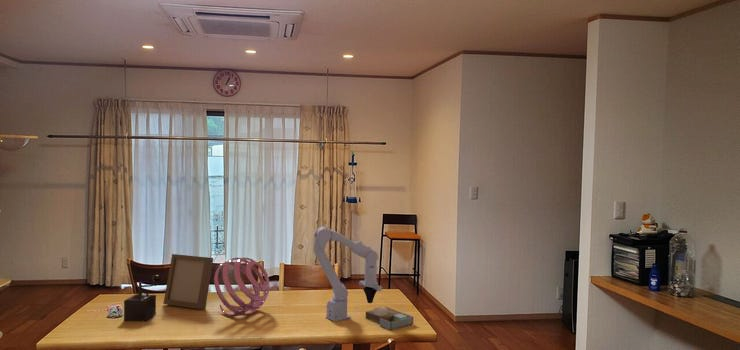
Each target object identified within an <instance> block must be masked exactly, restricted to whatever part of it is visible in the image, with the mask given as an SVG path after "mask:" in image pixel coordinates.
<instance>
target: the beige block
mask: <svg viewBox="0 0 740 350" xmlns="http://www.w3.org/2000/svg"><path fill="white" fill-rule="evenodd" d="M373 310H374V314H375V315H377V316H384V315H388V309H386V308H384V307H383V306H379V307H374V308H373Z"/></svg>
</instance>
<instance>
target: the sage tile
mask: <svg viewBox="0 0 740 350" xmlns="http://www.w3.org/2000/svg"><path fill="white" fill-rule="evenodd" d="M404 318H408V316H406V315H403V314H397V315H394V320H393V321H397V320H401V319H404Z"/></svg>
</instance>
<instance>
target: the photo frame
mask: <svg viewBox="0 0 740 350" xmlns="http://www.w3.org/2000/svg"><path fill="white" fill-rule="evenodd" d="M213 263H214V257H207V256H206V257H205V256H198V255H197V256H195V255H188V254H187V255H186V254H185V255H184V254H176V253H171V258H170V264H169V265H170V266H169V270H168V276H167V281H166V288H165V293H164V298H163V299H164V300H163V305H170V306H177V307H183V308H184V307H186V308H189V309H190V308H192V309H197V310H203V309H206V308H207V307H206V306H207V301H208V295H209V289H210V288H209V287H210V282H211V278H212V277H211V276H212V270H213Z"/></svg>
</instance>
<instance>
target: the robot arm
mask: <svg viewBox="0 0 740 350" xmlns="http://www.w3.org/2000/svg"><path fill="white" fill-rule="evenodd" d="M313 235H314V236H313V237H314V238H313V247H312V250H313V252H314V254H315V257H316V258H317V260H318V262H319V264H320V266H321V268H322V269H323V271H324V273H325V275H326V278H327V279H328V281H329V283H330V285H331V290H332V293H333V296H332V298H331V300H328V301H327V303H326V314H325V318H326V317H327V318H326V319H328V318H329V320H330V319H331V321H332V320H333V321H332V322H335V321H336V322H339V320H340V321H344V320H348V319H351V316H350V315H348V296H349V291H348V289H347V288H346V286H345V284H344V283H342V282H341V280H340V278H339V276H338V274H337V272H336V270H335V269H334V267H333V264H332V263H331V261H330V258H329V257H328V255H327V253H326V251H325V248H326V246H327V244H328V243H329V242H330V241H331V242H334V241H336V242H338V243H340V244H343V245H344V246H347V248H350V252H351V253H353V254H355V255H357V256H359V257H360V258H363V259H364V260H365V261H364V280H359V282H358V284H359V286H364V287H363V289H362V290H363V292H364V294H365V297H366V302H367V303H368V304H373V303H374V299H375V296H376V293H377V291H378V292H382V291H383V286H381V285H379V283H378V282H377V277H378V276H377V272H378V271H377V269H378V268H377V267H378V265H377V262H378V260H379V256H378V253H377V251H376V250H374V249H373V248H371V246H367V245H365V244H363V242H362V241H360V240H359V241H358V240H356V241H353V240H351V239H349V238H348V237H346V236H344V235H343V234H341V233H339V232H338V231H336V230H334V229H332V228H328V227H327V226H323V225H321V226H319V227H317V229H316V231H315V233H314V234H313ZM347 318H348V319H347ZM343 319H344V320H343Z"/></svg>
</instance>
